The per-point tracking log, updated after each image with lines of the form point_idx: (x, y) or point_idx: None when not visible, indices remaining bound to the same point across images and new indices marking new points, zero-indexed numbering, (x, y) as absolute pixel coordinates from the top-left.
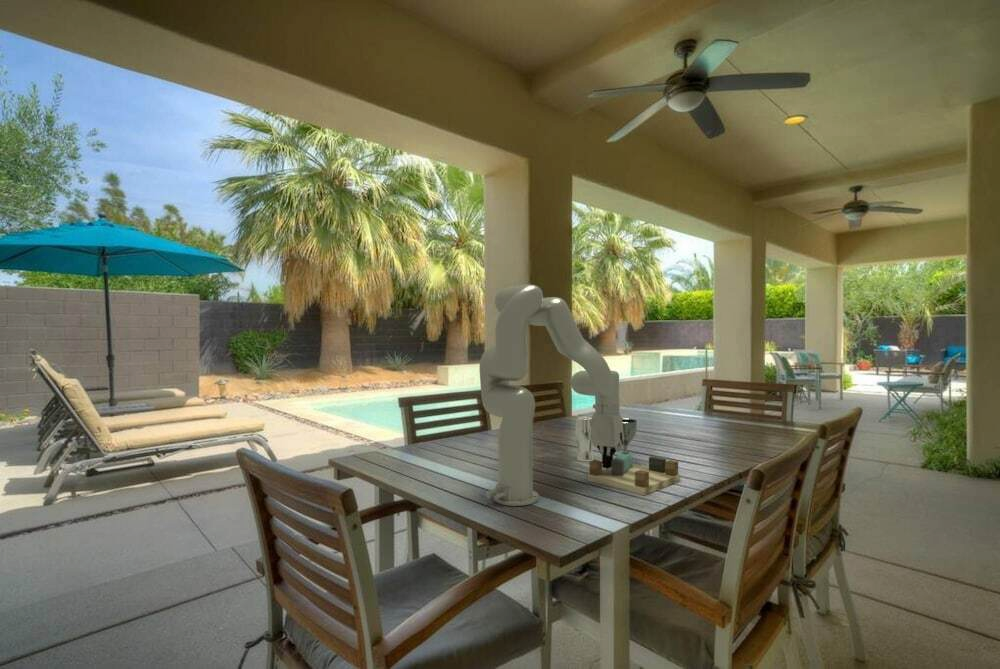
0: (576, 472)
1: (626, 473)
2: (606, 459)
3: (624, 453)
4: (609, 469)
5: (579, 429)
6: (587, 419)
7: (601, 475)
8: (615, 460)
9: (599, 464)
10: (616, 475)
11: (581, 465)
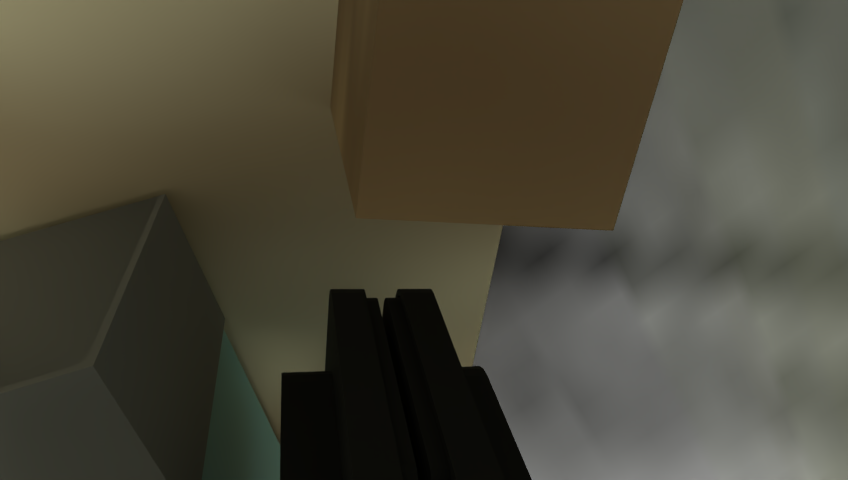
0: (817, 190)
1: None
2: (350, 416)
3: None
4: None
5: None
6: None
7: (296, 19)
8: (29, 461)
9: (363, 60)
10: (72, 217)
11: (827, 437)
